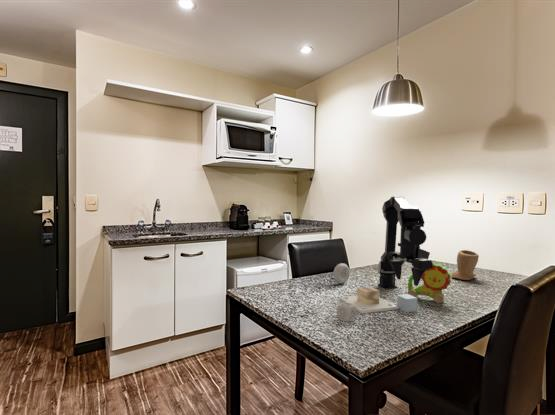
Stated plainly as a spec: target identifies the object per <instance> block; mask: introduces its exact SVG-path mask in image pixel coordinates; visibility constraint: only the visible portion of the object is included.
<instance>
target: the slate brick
mask: <svg viewBox="0 0 555 415" xmlns="http://www.w3.org/2000/svg"><path fill="white" fill-rule="evenodd" d="M396 306H398V309H397V310H400V311H402V312H404V313H412V312H418V297H417V296H416V297H414V296H411V295H409V294H407V293H405V294H403V293H402V294H397V295H396Z"/></svg>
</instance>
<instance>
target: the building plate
mask: <svg viewBox="0 0 555 415" xmlns="http://www.w3.org/2000/svg"><path fill="white" fill-rule="evenodd" d="M338 298H339V299H338V300H339V301H341V303H344V302H346V303H351V304H353V305H354V306H355V307H356V310H357V312H358V313H360V314H367V313H368V314H370V313H378V312H384V311H394V310H395V311H396V310H399V309H398V306H397V304H395V303H392V302H391V301H388V300H386V299H384V298H381V297H380V296H379V304H371V305H365V304H363V303H361V302H360V301H358V300H357V295H349V296H348V295H347V296H345V295H344V296H340V297H338Z"/></svg>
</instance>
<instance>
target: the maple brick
mask: <svg viewBox="0 0 555 415" xmlns="http://www.w3.org/2000/svg"><path fill="white" fill-rule="evenodd" d="M356 290H357V291H356V294H357V295H356V296H357V300H358V301H360V302H361V303H363V304H365V305H371V304H379V297H380V293H381V292H380V290H379V289H377V288H375V287H372V286H360V287H359V286H358V287H357V289H356Z"/></svg>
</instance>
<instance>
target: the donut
mask: <svg viewBox="0 0 555 415" xmlns="http://www.w3.org/2000/svg"><path fill="white" fill-rule="evenodd" d="M341 273H342V275H341ZM332 274H333V275H332V277H333V280H334V281H335V282H336V283H337V284H340V285H343V284H345V283H347V281H348V280H349V278H350V276H351V273H350V268H349V266H348V265H347V264H346V263H342V262H340V263H337V265H336V266H334V269H333V273H332Z"/></svg>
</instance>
